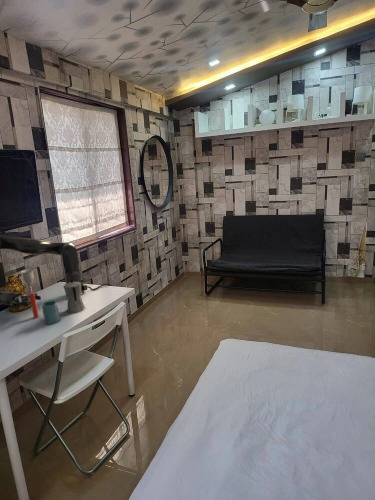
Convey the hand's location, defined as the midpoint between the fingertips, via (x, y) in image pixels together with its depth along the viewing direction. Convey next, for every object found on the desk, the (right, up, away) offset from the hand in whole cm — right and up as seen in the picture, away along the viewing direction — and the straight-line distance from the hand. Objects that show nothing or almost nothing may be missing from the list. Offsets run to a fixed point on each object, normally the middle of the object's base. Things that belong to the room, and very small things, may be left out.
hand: (34, 300), depth 177 cm
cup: (+11, -10, -4) cm, 16 cm away
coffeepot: (+20, -7, +8) cm, 23 cm away
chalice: (-16, -3, +32) cm, 36 cm away
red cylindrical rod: (0, -9, +3) cm, 10 cm away
